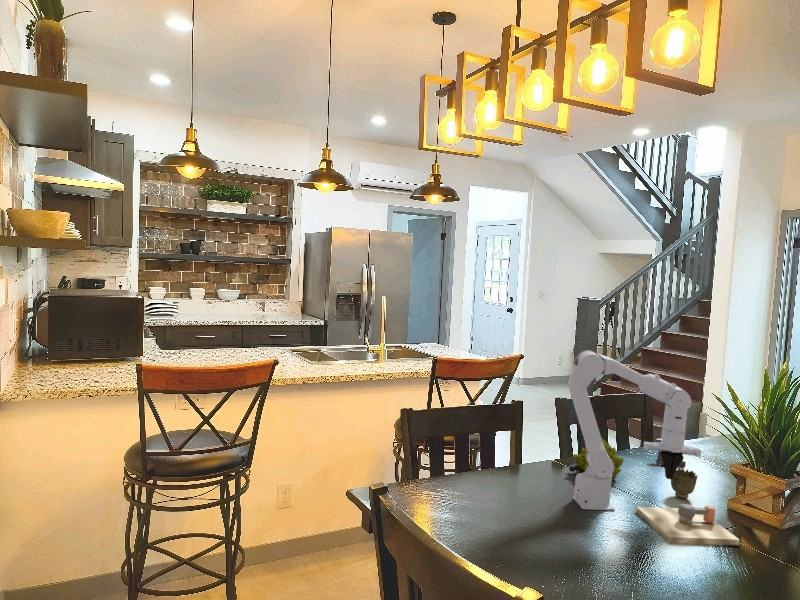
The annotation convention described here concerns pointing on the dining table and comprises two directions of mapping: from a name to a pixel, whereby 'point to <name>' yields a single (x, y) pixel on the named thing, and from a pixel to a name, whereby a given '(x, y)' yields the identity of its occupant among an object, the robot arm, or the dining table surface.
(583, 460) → the vegetable
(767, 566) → the dining table surface
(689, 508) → the lock lever
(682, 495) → the cup
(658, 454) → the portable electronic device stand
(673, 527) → the base
